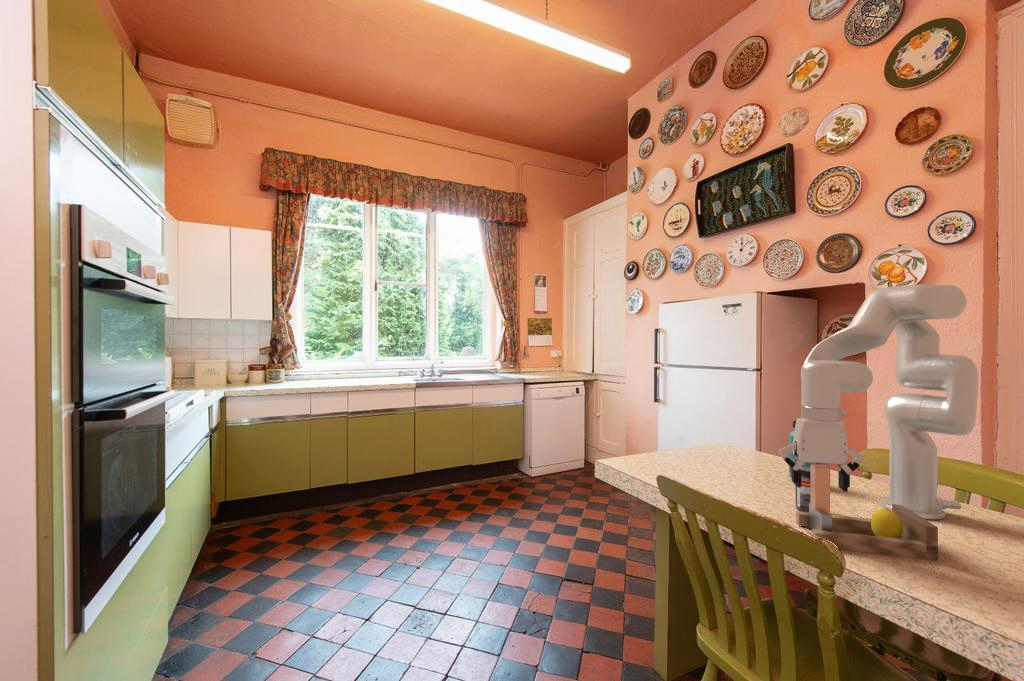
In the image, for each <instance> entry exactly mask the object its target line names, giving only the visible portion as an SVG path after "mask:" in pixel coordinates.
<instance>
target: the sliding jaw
mask: <svg viewBox="0 0 1024 681" xmlns="http://www.w3.org/2000/svg"><path fill="white" fill-rule="evenodd" d="M832 515H833V514H831V468H829V467H828V466H827V465H826V464H815V463H813V464H811V481H810V503H809V527H808V528H809V529H810V530H811V531H812V532H813V529H815V530H824V531H833V530H832Z"/></svg>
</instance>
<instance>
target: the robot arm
mask: <svg viewBox="0 0 1024 681" xmlns="http://www.w3.org/2000/svg"><path fill="white" fill-rule="evenodd" d="M966 306H967V296H966V294H965V292H964V291H963V289H961V288H960V287H958V286H956V285H953V284H927V283H926V284H925V283H924V284H923V283H922V284H910V285H908V284H907V285H898V286H888V287H882V288H881V287H880V288H877V289H875V290H873V291H872V292H869V294H868V295H867V296H866V297H865V299H864V301H863V302H862V304H861V306H860V307H859V308H858V310H857V312H856V313H855V315H854V316H853V317H852V320H851V321H850V323H849V324H848V326H846V327H845V328H843V329H841V330H839V331H837V332H835V333H833V334H831V335H830V336H828V337H827V338H824V339H823V340H821V341H820V342H819V343H818V344H816V345H815V346H814V347H813V348H812V349H811V350H810V352H809V354H808V356H807V357H805V358H806V359H805V360H804V362H803V364H802V366H801V370H800V379H801V383H800V386H801V387H800V392H801V394H800V395H801V396H800V399H801V400H800V401H801V403H800V404H801V405H800V406H801V407H800V410H801V411H800V417H797V418H796V420H795V421H796V425H795V428H794V430H793V431H794V439H793V443H792V444H788V445H786V446H785V445H784V447H781V448H779V449H778V453H779V454H780V456H781V458H782V459H783V461H784V462H785V463H786V464H787V465H788V467H789V466H790V467H791V468H792V478H791V482H792V483H793V485H796V486H797V487H798V488H801V487H802V472H801V471H800V467H801V466H802V465H803V464H804V463H805V462H806V463H813V464H816V465H831V466H832V465H834V466H837V467H839V469H840V470H839V471H838V472H837V473H838V477H837V478H838V481H837V482H838V488H839V489H840V490H841V491H843V492H844V493H845V492H846V493H848V491H849V488H850V487H851V475H852V474H853V472H854V471H855V470H857V469H858V468H859V467H860V465H861V464H862V463H863V461H864V460H865V456H864V455H863V454H861V453H859V452H858V451H855V450H854V449H852V448H850V447H849V445H848V439H847V437H848V436H847V432H846V427H845V424H844V421H842V418H843V417H848V411H847V410H844V409H842V408H841V393H848V394H858V393H862V392H865V391H866V390H867V389H869V388H870V387H871V385H872V384H873V383H872V382H873V380H874V377H873V373H872V370H871V368H870V367H868V366H867V365H866V364H864V363H862V362H859V361H849V360H841V359H844V358H846V357H849V356H853V355H857V354H860V353H865V352H869V351H871V350H875V349H878V348H880V347H882V346H884V345H885V344H886V343H887V342H888V340H889V338H890V336H891V335H892V333H893V331H894V332H895V335H896V352H895V353H896V356H895V367H894V368H895V369H894V370H895V372H894V373H895V374H894V375H895V376H894V377H895V380H896V382H897V384H899V386H901V387H904V388H908V389H913V390H914V389H915V390H925V391H939V392H945V393H946V396H942V395H941V396H940V395H938V396H937V395H930V394H923V393H922V394H920V393H911V392H910V393H909V392H908V393H907V392H906V393H896V394H893V395H891V396H889V397H888V398H887V399H886V402H885V404H884V412H885V417H886V422H887V427H888V433H889V434H888V435H889V498H884V499H882V500H881V504H882V506H883V507H884V508H888V509H889V510H891V511H892V504H897V505H903V506H905V507H906V508H908V509H910V510H911V511H913V512H914V513H916V514H917V515H919V516H921V517H922V518H924V519H925V520H942V519H945V518H946V511H945V510H946V509H952V510H961V509H962V504H961V502H959V501H955V500H948V499H946V498H941V497H939V496H938V449H937V448H938V447H937V445H936V443H935V441H934V440H933V438H932V437H931V436H930V434H929V433H934V434H941V435H948V436H958V437H959V436H961V437H962V436H967V435H969V434H971V432H973V430H974V428H975V425H976V422H977V412H978V411H977V408H978V407H977V406H978V397H979V396H978V395H979V392H978V391H979V371H978V366H977V365H976V363H975V361H973V359H971V358H970V357H968V356H965V355H959V354H941V353H940V342H941V340H940V339H941V338H940V334H939V333H938V331H937V330H936V329H935V328H934V326H933V325H932V324H931V323H929V322H928V321H927V320H948V319H949V320H950V319H955V318H958V317H959V316H960V315H961V314H962V313H963V312H964V310H965V309H966ZM791 451H793V455H794V456H795V459H794V460H793V461H792V460H791V459H790V458H789V452H791ZM849 455H850V456H851V457H852V460H851V461H850V462H849ZM848 462H849V463H848ZM796 486H795V487H796Z"/></svg>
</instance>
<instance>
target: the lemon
mask: <svg viewBox="0 0 1024 681" xmlns="http://www.w3.org/2000/svg"><path fill="white" fill-rule="evenodd" d="M870 519H871V528H872V530H873V532H874V534H875V535H874V534H873V535H874V536H879V537H888V538H897V539H900V538H901V536H902V533H903V525H902V522H901V519H900V518H899V516H898V515H897V514H896V513H894V512H893V511H891V510H889V509H888V508H885V507H884V508H879V509H877V510H875V511H874V512H873V513H872V516H871V518H870Z"/></svg>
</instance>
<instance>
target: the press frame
mask: <svg viewBox="0 0 1024 681" xmlns="http://www.w3.org/2000/svg"><path fill="white" fill-rule="evenodd" d="M892 511H893V512H894V513H896V514H897V515H898V516H899V518H900V519H901V522H902V525H903V533H902V536H901V538H900V539H897V538H888V537H879V536H876V535H875V534H874V532H873V530H872V528H871V518H869V517H858V516H848V515H838V514H831V515H832V531H824V530H815V529H813V531H812V535H813V534H814V535H815V536H818V537H822V538H824V539H826V540H829V541H831V542H832V543H834V544H835V545H836V546H837V547H838V548H839V549H838V550H843V551H851V552H859V553H868V554H869V553H870V554H876V555H877V554H878V555H884V556H885V555H886V556H892V557H894V556H895V557H901V556H902V558H909V559H910V558H911V559H919V560H927V561H934V562H938V561H939V557H938V556H939V527H938V526H937V525H936V524H933V523H932V522H930V521H928V519H924V518H922V517H921V516H919V515H917V514H916V513H914V512H913V511H911V510H910V509H908V508H906V507H905V506H903V505H897V504H892ZM795 513H796V514H795V516H796V517H795V518H796V519H795V520H796V521H795V522H796V525H797V524H798V525H801V526H805V527H804V528H809V512H802V511H800V510H798V511H795ZM798 525H797V526H798Z"/></svg>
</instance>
